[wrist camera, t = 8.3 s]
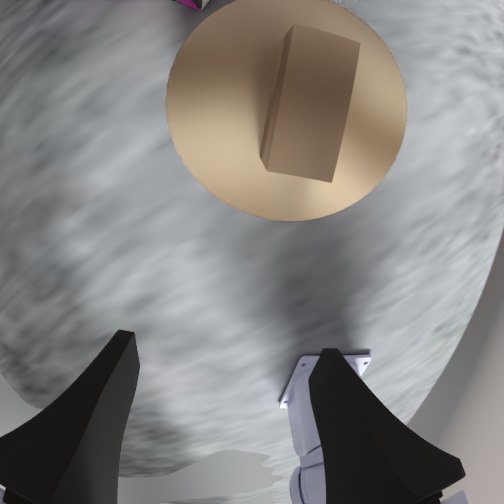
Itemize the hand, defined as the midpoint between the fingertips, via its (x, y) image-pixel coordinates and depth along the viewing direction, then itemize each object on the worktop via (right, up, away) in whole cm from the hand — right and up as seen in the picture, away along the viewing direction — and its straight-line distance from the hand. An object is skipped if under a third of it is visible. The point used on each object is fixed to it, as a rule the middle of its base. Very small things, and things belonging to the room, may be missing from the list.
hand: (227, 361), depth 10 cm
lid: (+3, +10, +1) cm, 11 cm away
